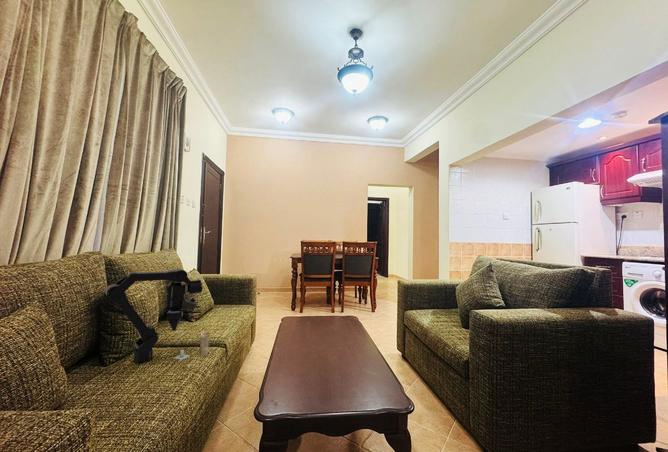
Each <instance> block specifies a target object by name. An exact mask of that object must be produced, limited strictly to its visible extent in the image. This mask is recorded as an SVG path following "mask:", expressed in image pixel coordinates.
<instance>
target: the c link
mask: <svg viewBox="0 0 668 452" xmlns="http://www.w3.org/2000/svg"><path fill="white" fill-rule="evenodd" d="M209 339H210V332H209V331H205V332H204V331H203V332H201V333H200V340H199V341H200V343H199V358H207V357H208V355H209V341H210V340H209Z"/></svg>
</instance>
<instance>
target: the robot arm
mask: <svg viewBox="0 0 668 452" xmlns="http://www.w3.org/2000/svg"><path fill="white" fill-rule="evenodd" d="M148 281H170V282H169V283H168V284H167V285H166V286H167V287H168V288H171V295H170V296H171V297H170V306H169V310H168V311H167V313H166V317H165V319H167V321H168V323H169V325H170V327H171V330H172V331H173V332H176V331H177V328H178V327H177V326H179V323H180V320H181V319H182V317H183V315H184V312H185V311H186V309H188V310H190V311H195V310H196V307H197V305H198V301H196V298H194V297H193V298H190V299H187V296H186V295H185V294H186V293H187V294H188V295H196V294H202V292H203V284H202V280H201V279H194V280H191V279H190V278H189V277H188V273H187V271H186V270H184V269H181V268H175V269H169V270H166V271H143V272H142V271H138V272H136V271H131V272H129V273H128V274H127V275H125V276H124V277H122V278H121V279H119V280H118V281H117V282H115V283H113V284H110V285H108V286H106V288H105V291H104V292H105V295H106V297H107V298H108V299H109V300H110V301H111V302H112V303H114V304H115V305H117V307H119V309H121V311H122V312H123V313H124V315H125V316H126V317H127V319H128V320H129V322H130V323H131V324H132V325H133V327H134V328H135V330H136V331H137V333H138V336H139V338H138V339H137V340H135V342H134V347H135V348H136V349H135V350H134V352H133V363H135V364H138V365H139V364H144V363H147V362H149V361H150V360H151V359H152V358H153V353H154V350H153V348H154V346H155V345H156V344H157V342H158V341H159V333H158V331H157V330H156V329H155V327H154V326H153V325H152V324H149V325H147V324H146V323H145V322H144V321H143V319H142V318H141V316H140V314H139V313H137V311H136V309H135V308H134V307H133V306H132V304H131V303H130V301H129V300H128V297H127V295H126V294H127V293H126V291H127V290H128V289H129V288H131V287H132V286H133V284H135V283H136V282H148ZM182 282H183V283H182Z"/></svg>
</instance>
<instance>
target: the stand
mask: <svg viewBox="0 0 668 452" xmlns="http://www.w3.org/2000/svg"><path fill="white" fill-rule="evenodd" d="M179 351H180V353H179V355H177V356H175V357H173V359H175V360H181V361H182V360H184V359H187V358H188V357H191V355H188V354H185V349H180V350H179Z"/></svg>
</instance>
